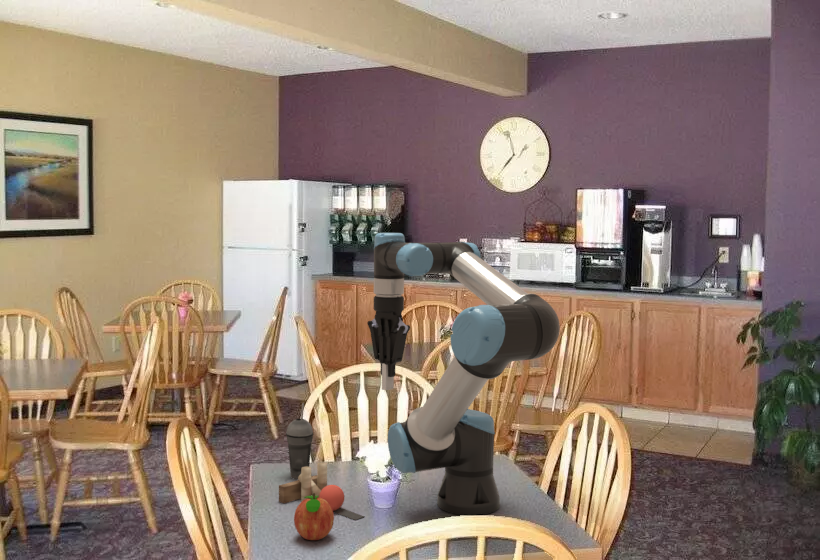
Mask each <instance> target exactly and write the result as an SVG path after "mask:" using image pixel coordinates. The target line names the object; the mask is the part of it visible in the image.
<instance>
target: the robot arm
mask: <svg viewBox="0 0 820 560" xmlns="http://www.w3.org/2000/svg"><path fill="white" fill-rule="evenodd" d="M439 274H440V275H441V274H443V275H444V274H446V275H447V274H448V275H450V276H452V277H453V278H454V279H455V280H457V281H458V282H459V283H460V284H462V285H463V286H464V287H465V288H466V289H468V290H469V291H470V292H471V293H472V294H473V295H475V296H476V297H477V298H479V299H480V300H481V301H482V302H483V303H484V304H479V305H475V306H470V307H467V308H465V309H463V310H462V311H461V312H459V313H458V314H457V316H456V317H455V319H454V321H453V324H452V327H451V332H452V334H450V347H451V350H452V353H453V358H452V360H451V361H450V362H449V364H448V366H447V368H446V370H445V371H444V372H443V374H442V376H441V377H440V379H439V380H438V382H437V383H436V385H435V387H434V388H433V390H432V391H431V393H430V394H429V396H428V397H427V399H426V401H425V403H424V404H423V405H422V406H420V407H417V408H415V409H413V411H412V412H410V414H409V415H408V417H407V419H406V420H405V421H404V422H399V421H397V422H395V423H392V424H391V425H390V426H389V429H388V432H387V447H388V451H389V457H390V458H391V461H392V464H393V465H394V467H395V469H396V470H397V471H399V472H400V473H402V474H408V473H409V474H416V473H419V472H426V471H431V470H437V469H444V475H443V478H442V480H441V484H440V487H439V489H438V492H437V499H436V501H437V503H436V504H437V506H438V507H439V509H440V510H442V511H445V512H447V513H450V514H455V515H460V516H465V515H464V514H483V515H488V514H491V513H494V512H495V511H497V510H499V508H500V506H501V504H500V503H501V502H500V501H501V496H500V494H499V490H498V487H497V483H496V481H495V477H494V453H495V452H494V451H495V450H494V447H495V446H494V445H495V434H496V432H495V422H494V421H495V420H494V418H493V416H491V415H490V414H488V413H487V412H483V411H480V410H475V409H469V408H470V407H471V405H472V404H473V402H474V401H475V399H476V398H477V396H479V395H478V394H479V393H480V392H481V390H482V389H483V387H485V385H486V384H487V382H488V381H489V380H493V379H497V378H498V377H500V376H501V374H502V373H503V372H504V370H505V369H506V368H507V366H508V365H509V364H510V363H511V362H517V361H518V362H519V361H529V360H535V359H539V358H541V357H544V356H545V355H547V354H548V353H549V352H551V350H552V349H554V347H555V345H556V343H557V342H558V339H559V337H560V330H561V329H560V328H561V326H560V325H561V324H560V319H559V317H558V314H557V312H556V310H555V309H554V308H553V307H552V306H551V304H550V303H548V301H546V300H545V299H543V298H542V297H541V296H540V295H538V294H536V293H528V292H526V290H524V289H523V288H521V287H520V286H518V285H517V284H516V283H515V282H513V281H512V280H510V279H509V278H507V276H505V275H504V274H502V273H501V272H500V271H498V270H497V269H495V268H494V267H493V266H491V265H490V264H489V263H488V262H486V261H485V260H483V259H482V257H481V251H480V249H479V247H478V245H476V244H475V243H473V242H466V241H456V242H454V241H453V242H447V241H446V242H406V238H405V235H404V234H403V233H401V232H378V233H376V234H375V236H374V247H373V294H374V296H373V310H374V312H375V314H374V318H373V319H371V320H368V321H367V326H368V329H369V331H370V340H371V344H372V351H373V357H374V360H377V361H378V362H379V363H380V376H381V390H382V391H390V390H394V389H395V387H394V384H395V381H394V380H395V378H394V377H396V366H397V365H396V364H397V363H401V362H403V357H404V351H405V345H406V341H407V337H408V333H410V330H411V326H410V325H409V324H406V323H405V322H404V318H403V314H402V313H403V311H404V310H405V297H404V296H403V295H404V293H405V275H407V276H409V277H421V276H424V275H439Z"/></svg>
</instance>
